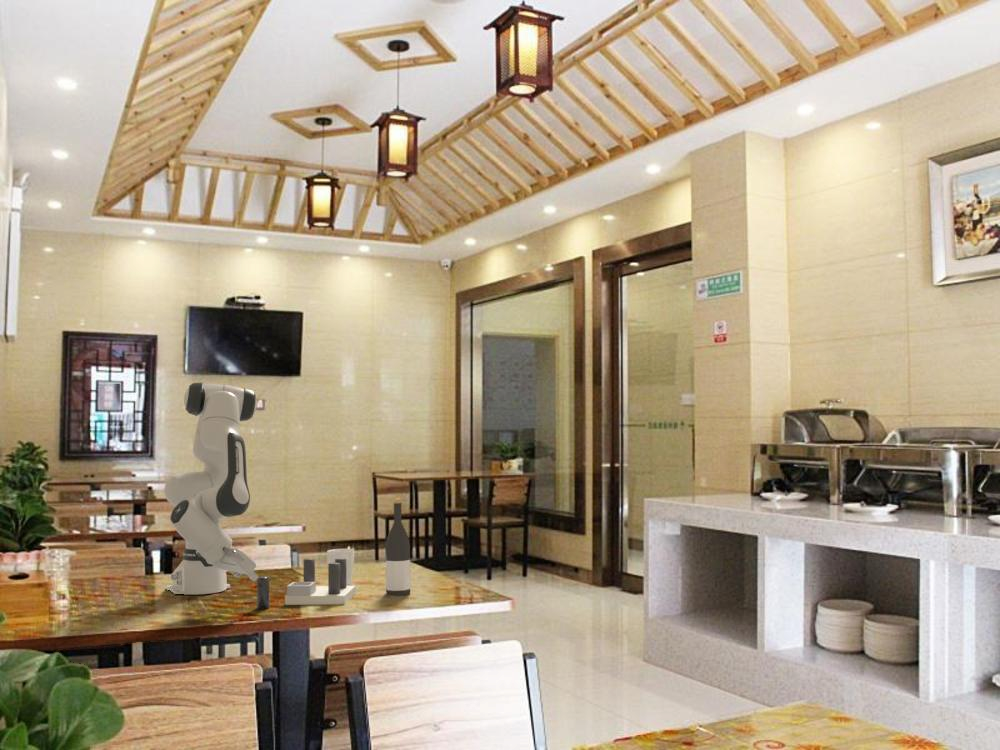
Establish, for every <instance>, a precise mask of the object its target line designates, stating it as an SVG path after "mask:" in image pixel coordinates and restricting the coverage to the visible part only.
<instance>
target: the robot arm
mask: <svg viewBox="0 0 1000 750" xmlns="http://www.w3.org/2000/svg"><path fill="white" fill-rule="evenodd" d="M256 395H257V394H256V393H255V392H254V390H251V389H249V388H246V387H244V388H242V387H238V386H236V385H235V386H234V385H230V384H219V383H217V384H216V383H203V382H193V383H191V384H190V385H189V386H188V388H187V389H186V391H185V393H184V396H183V404H184V407H185V411H187V413H188V414H190V415H192V416H194V417H198V420H197V422H196V423H197V424H196V430H195V434H194V440H193V445H192V453H193V455H194V457H195V458H196V459H197V460H198V461H200V462H201V463H203V464H204V469H203V471H192V472H191V471H189V472H182V473H177V474H175V475H171V476H170V477H169V478H168V479H167V481H166V482H165V485H164V496H165V498H166V500H167V502H168V503H169V504H170V505H172V506H173V507H174V508H173V510H172V512H171V514H170V518H169V520H170V522H171V525H172V527H173V528H174V529H175V531H176V532H177V533H178V534H179V535H180V537H182V538H183V539H184V540H185V547H184V549H183V550H182V551H183V552H182V561H181V562H180V564H179V565H178V566H177V567H176V568H175V569H174V571H173V572H172V573H171V574H170V578H171V580H172V584H169V585H168V584H167V585H165V588H167V589H168V590H170V591H171V592H173V593H174V594H173V593H172V594H173V595H175V594H184V595H207V594H216V593H221V592H224V591H226V590H227V589H230V588H231V584H230V583H227V582H228V580H227V579H228V578H227V572H228V573H230V574H232V575H233V576H234V577H235V578H241V576H242V575H246V576H248V579H250V580H251V581H253V582H257V579H258V577H259V576H258V575H257V574H256V572H255V569H256V568H257V564H256V562H255V561H254V560H253V559H252V558H251V557H249V556H248V555H247V554H246V553H245V552H244V551H242V550H241V549H239V548H236V547H235V548H234V546H233V545H232V544H233V538H231V537H230V536H229V535H228V534H227V533H226V532H225V531H224V530H223V529H222V525H221V523H220V521H223V520H225V519H227V518H231V517H236V516H241V515H243V514H244V513H246V511H247V510H248V509H249V505H250V502H251V494H250V490H249V486H248V477H247V475H248V474H247V454H246V453H247V452H246V445H245V440H244V438H243V437H242V435H241V434H240V423H241V422H245V421H249V420H250V419H251V418H253V416H254V415H255V414H256V413H255V412H256V411H257V408H258V400H257V397H256ZM168 590H167V591H168ZM170 591H169V592H170ZM171 592H170V593H171Z"/></svg>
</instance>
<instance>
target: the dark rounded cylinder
mask: <svg viewBox="0 0 1000 750" xmlns="http://www.w3.org/2000/svg"><path fill="white" fill-rule="evenodd" d="M256 609H257V610H268V609H270V576H265V575H263V576H258V579H257V580H256Z"/></svg>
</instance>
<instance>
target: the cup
mask: <svg viewBox="0 0 1000 750" xmlns="http://www.w3.org/2000/svg"><path fill="white" fill-rule="evenodd" d="M354 551H355V550H354V548H333V549H328V550H327V552H326V553H327V554H326V564H327V565H326V566H328V564H329V563H335V559H338V558H346V586H352V585H351V584H352V580H353V579H352V578H353V570H354V562H355V552H354Z"/></svg>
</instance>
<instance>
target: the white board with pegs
mask: <svg viewBox="0 0 1000 750" xmlns="http://www.w3.org/2000/svg"><path fill="white" fill-rule="evenodd" d="M315 566H316V559H315V558H304V559H303V581H292V582H291V583H289V584H288V585H286V595H284V604H285V605H286V606H288V605H289V606H294V605H295V606H296V605H297V606H298V605H301V606H302V605H303V606H304V605H306V606H308V605H346V604H347V603H348V601H350V600H351V599H352V598H353V597H354V596H355V595H356V593H357V586H356V585H351V586H346V558H338V559H335V563H329V564H328V565H327V571H328V573H327V574H328V575H327V576H328V577H327V579H328V585H317V583H316V567H315Z"/></svg>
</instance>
